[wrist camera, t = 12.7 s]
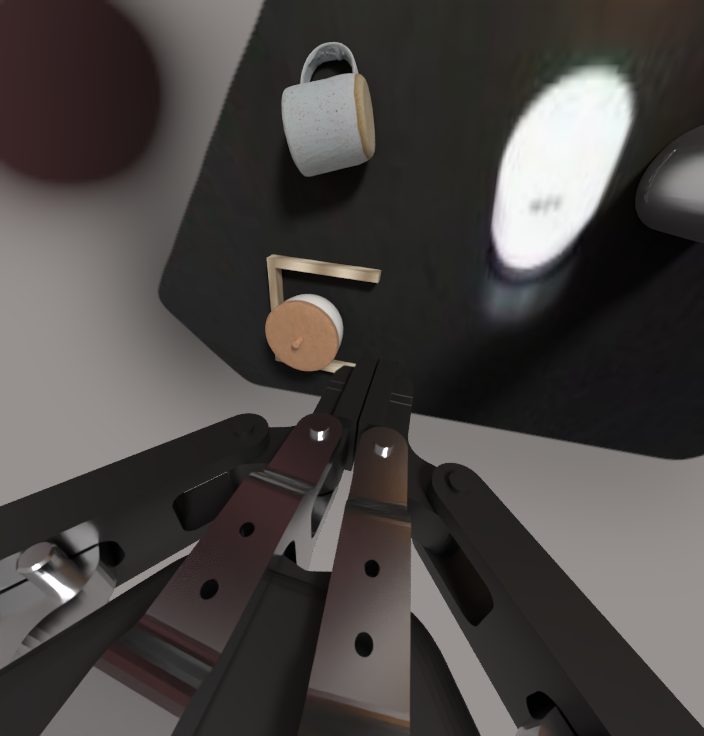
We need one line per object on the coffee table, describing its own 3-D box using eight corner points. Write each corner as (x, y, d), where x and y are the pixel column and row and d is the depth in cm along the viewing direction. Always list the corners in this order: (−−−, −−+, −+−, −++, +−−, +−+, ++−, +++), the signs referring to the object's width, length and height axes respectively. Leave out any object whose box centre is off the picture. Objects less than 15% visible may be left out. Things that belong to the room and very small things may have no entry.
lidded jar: (302, 351, 52) (278, 381, 44) (277, 293, 47) (245, 316, 39) (359, 341, 48) (344, 372, 40) (338, 276, 43) (316, 298, 36)
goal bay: (381, 270, 41) (378, 274, 39) (368, 372, 51) (366, 379, 49) (273, 254, 44) (266, 257, 42) (280, 354, 54) (275, 360, 52)
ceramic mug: (381, 162, 35) (367, 158, 28) (316, 177, 37) (291, 177, 31) (367, 34, 29) (347, -6, 23) (293, 62, 32) (257, 33, 26)
